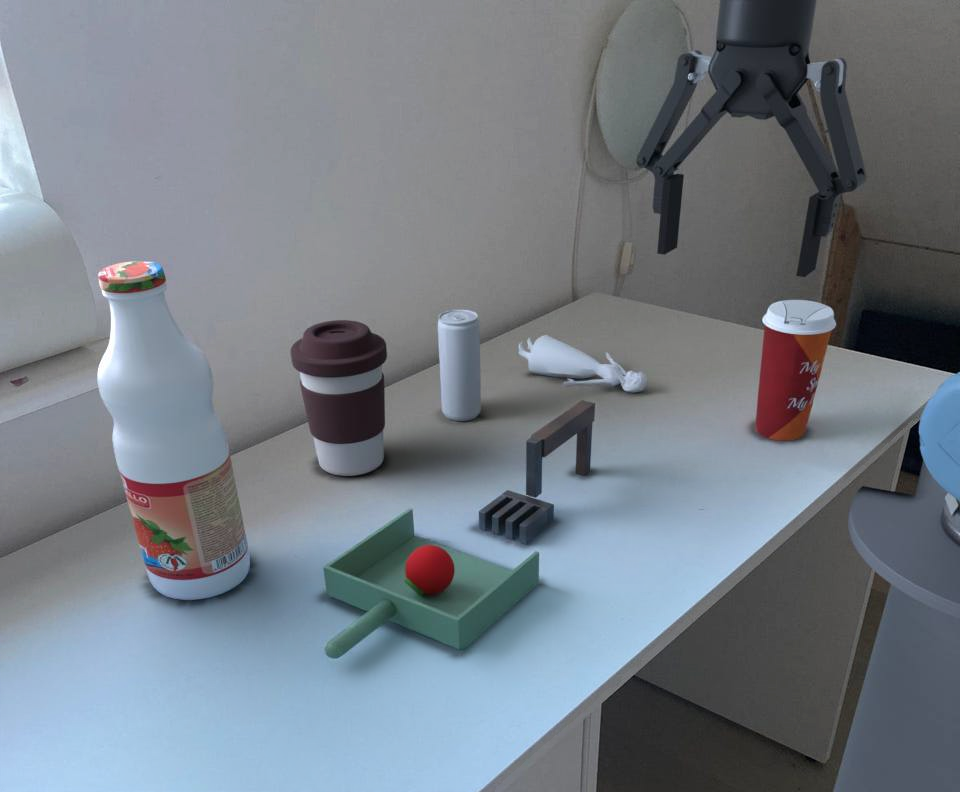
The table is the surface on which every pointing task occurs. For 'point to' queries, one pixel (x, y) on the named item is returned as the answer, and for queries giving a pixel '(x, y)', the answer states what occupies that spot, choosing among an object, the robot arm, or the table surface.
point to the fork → (540, 476)
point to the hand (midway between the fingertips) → (734, 261)
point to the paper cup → (791, 366)
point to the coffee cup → (343, 394)
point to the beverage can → (460, 364)
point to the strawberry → (429, 570)
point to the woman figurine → (577, 365)
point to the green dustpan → (383, 593)
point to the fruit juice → (169, 441)
